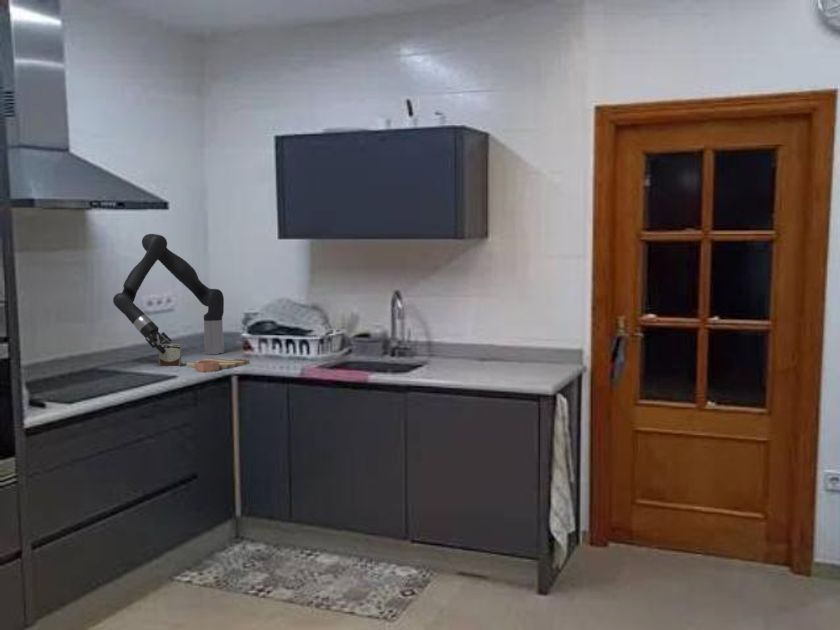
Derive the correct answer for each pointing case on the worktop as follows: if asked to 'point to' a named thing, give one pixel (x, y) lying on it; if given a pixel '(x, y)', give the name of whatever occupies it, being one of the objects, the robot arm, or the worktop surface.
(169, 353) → the food container
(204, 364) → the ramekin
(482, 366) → the worktop surface
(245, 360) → the board
